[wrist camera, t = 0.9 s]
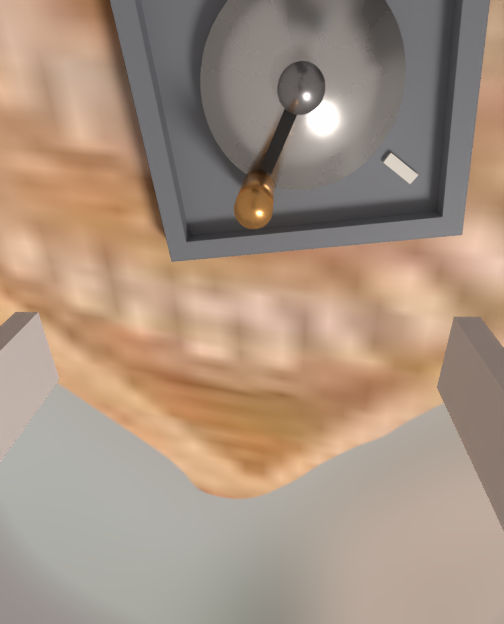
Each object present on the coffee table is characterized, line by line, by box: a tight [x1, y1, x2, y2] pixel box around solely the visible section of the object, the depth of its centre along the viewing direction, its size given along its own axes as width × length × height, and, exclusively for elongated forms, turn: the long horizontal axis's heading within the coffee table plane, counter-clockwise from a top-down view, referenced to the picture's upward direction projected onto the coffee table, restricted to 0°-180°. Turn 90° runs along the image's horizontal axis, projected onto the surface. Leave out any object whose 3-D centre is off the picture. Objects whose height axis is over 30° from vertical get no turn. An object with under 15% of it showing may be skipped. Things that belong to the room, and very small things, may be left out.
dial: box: [200, 0, 406, 229], centre depth 26 cm, size 14×13×6 cm
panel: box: [110, 0, 490, 262], centre depth 29 cm, size 22×22×3 cm
